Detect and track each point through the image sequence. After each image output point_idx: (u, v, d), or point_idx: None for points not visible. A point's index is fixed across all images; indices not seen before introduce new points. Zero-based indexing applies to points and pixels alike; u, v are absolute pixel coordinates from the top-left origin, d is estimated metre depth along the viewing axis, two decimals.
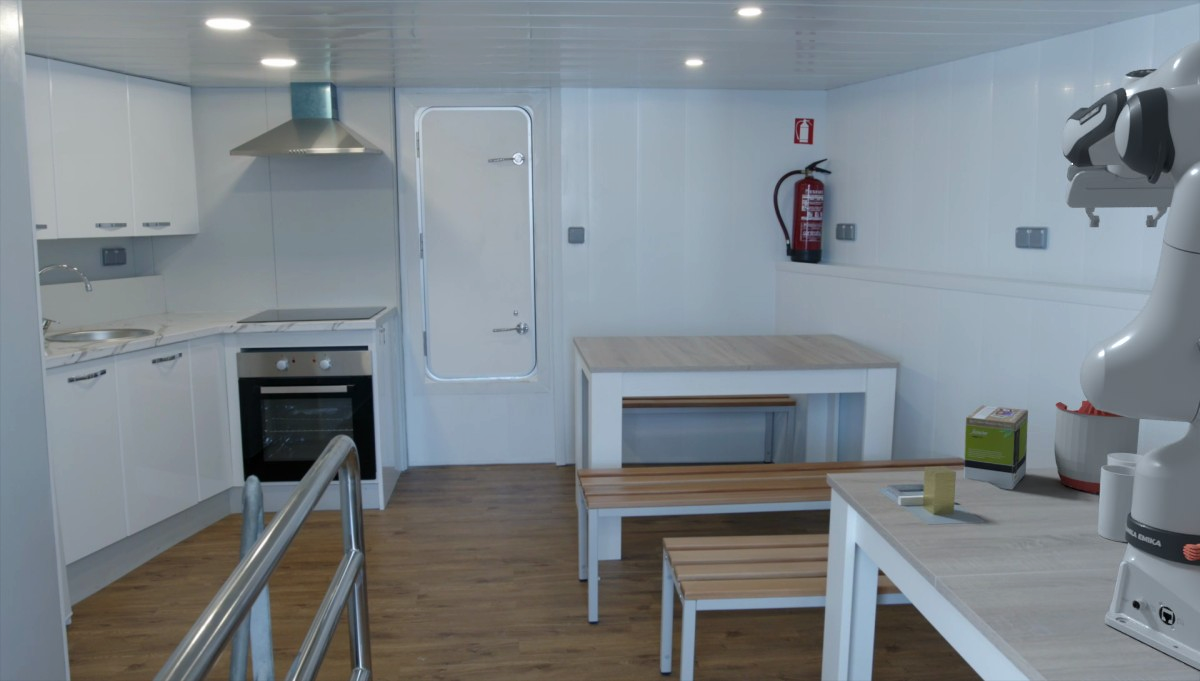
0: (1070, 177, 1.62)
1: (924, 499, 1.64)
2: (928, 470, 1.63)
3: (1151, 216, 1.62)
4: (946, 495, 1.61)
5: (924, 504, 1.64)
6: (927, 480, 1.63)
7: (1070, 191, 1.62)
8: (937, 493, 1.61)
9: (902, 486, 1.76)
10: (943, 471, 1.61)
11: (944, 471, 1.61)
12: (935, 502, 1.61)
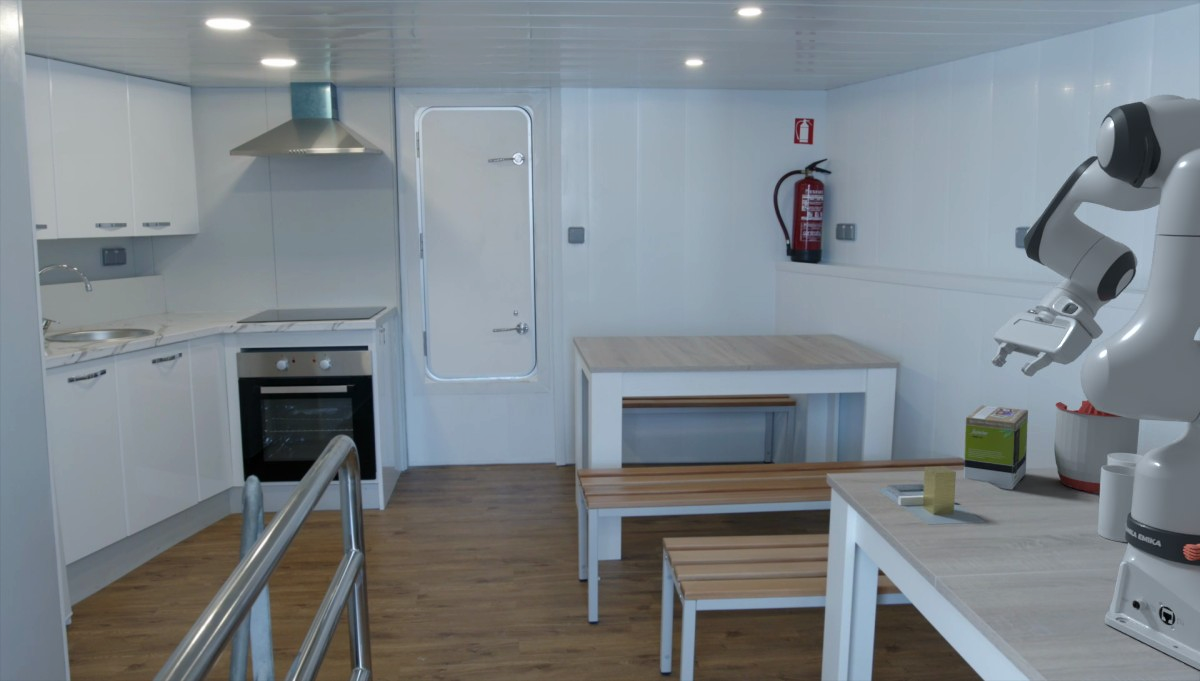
0: None
1: (924, 499, 1.64)
2: (928, 470, 1.63)
3: None
4: (946, 495, 1.61)
5: (924, 504, 1.64)
6: (927, 480, 1.63)
7: (1004, 324, 1.71)
8: (937, 493, 1.61)
9: (902, 486, 1.76)
10: (943, 471, 1.61)
11: (944, 471, 1.61)
12: (935, 502, 1.61)
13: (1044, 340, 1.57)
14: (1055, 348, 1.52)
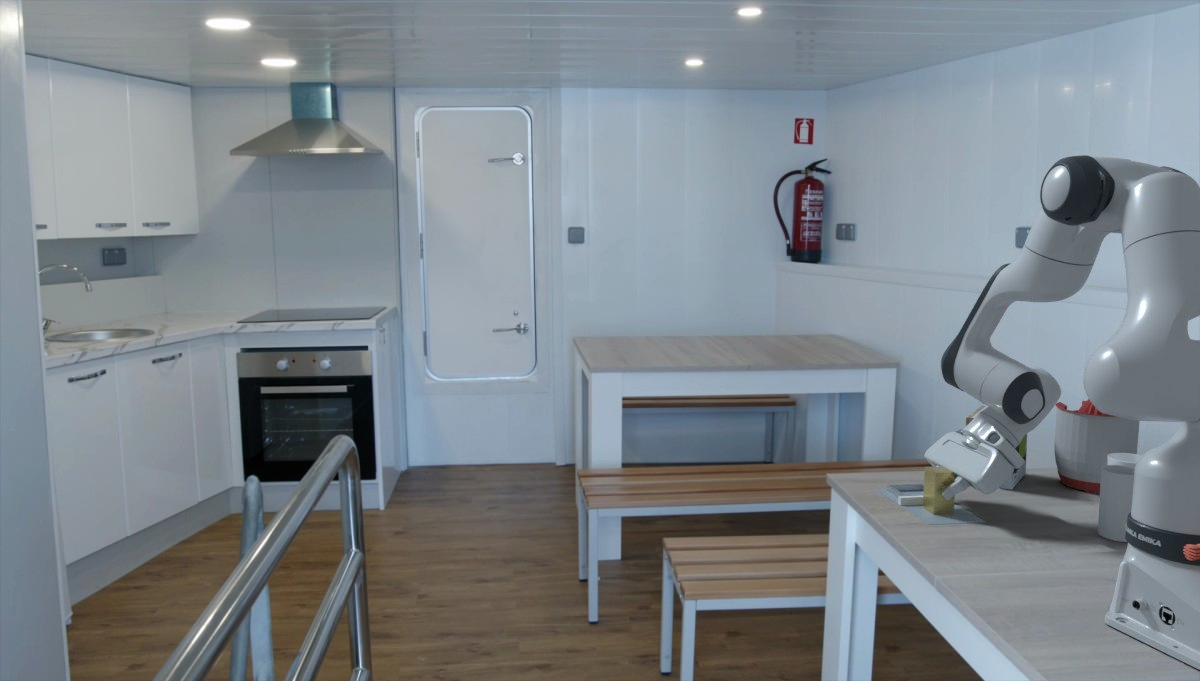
0: None
1: (924, 499, 1.64)
2: (928, 470, 1.63)
3: None
4: None
5: (924, 504, 1.64)
6: (927, 480, 1.63)
7: (934, 443, 1.72)
8: (937, 493, 1.61)
9: (902, 486, 1.76)
10: (943, 471, 1.61)
11: (944, 471, 1.61)
12: (935, 502, 1.61)
13: (967, 467, 1.58)
14: (976, 478, 1.54)
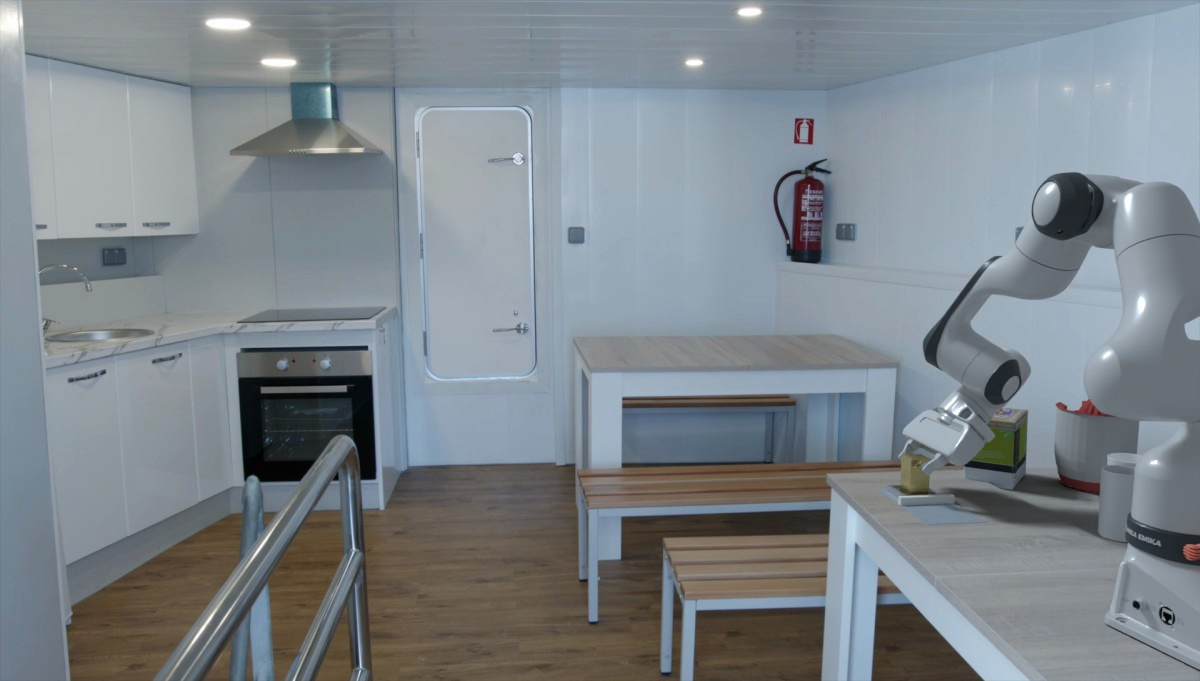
0: None
1: (901, 485, 1.73)
2: (904, 457, 1.72)
3: None
4: (921, 480, 1.70)
5: (901, 489, 1.74)
6: (903, 466, 1.72)
7: (912, 421, 1.81)
8: (912, 479, 1.70)
9: None
10: (918, 458, 1.70)
11: (919, 458, 1.70)
12: (911, 487, 1.70)
13: (941, 442, 1.67)
14: (949, 451, 1.63)
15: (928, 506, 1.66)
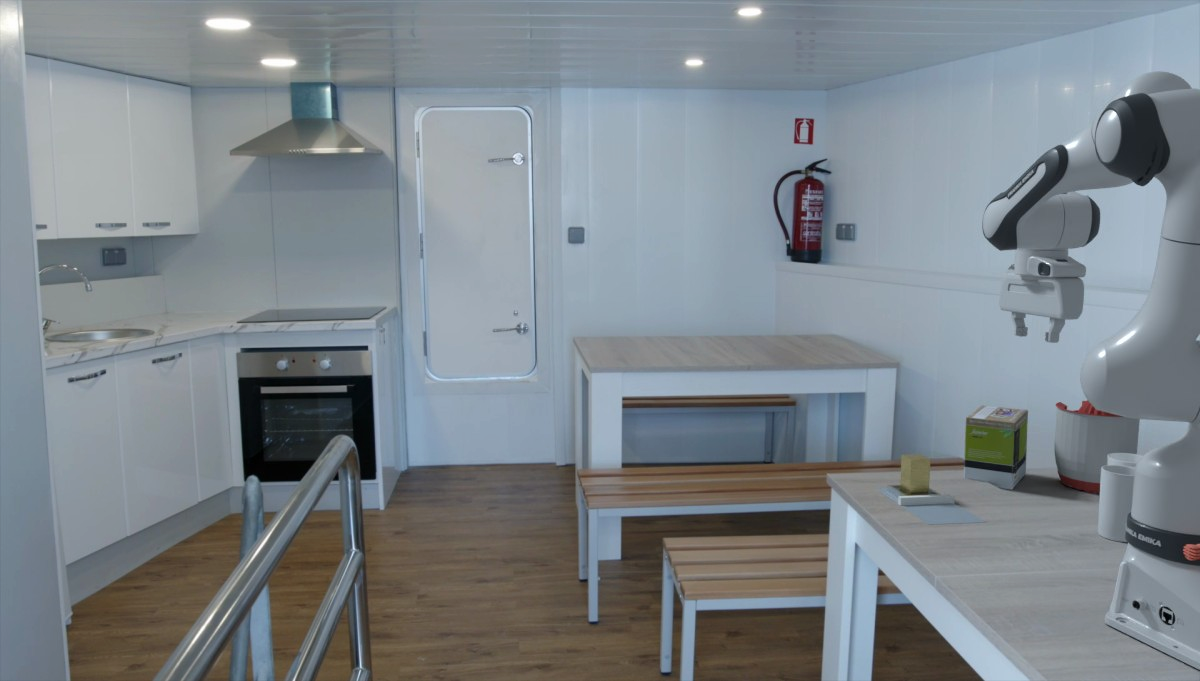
0: None
1: (901, 485, 1.73)
2: (904, 457, 1.72)
3: None
4: (921, 480, 1.70)
5: (901, 489, 1.74)
6: (903, 466, 1.72)
7: (1000, 292, 1.72)
8: (912, 479, 1.70)
9: None
10: (918, 458, 1.70)
11: (919, 458, 1.70)
12: (911, 487, 1.70)
13: (1044, 306, 1.58)
14: (1059, 314, 1.54)
15: (928, 506, 1.66)
